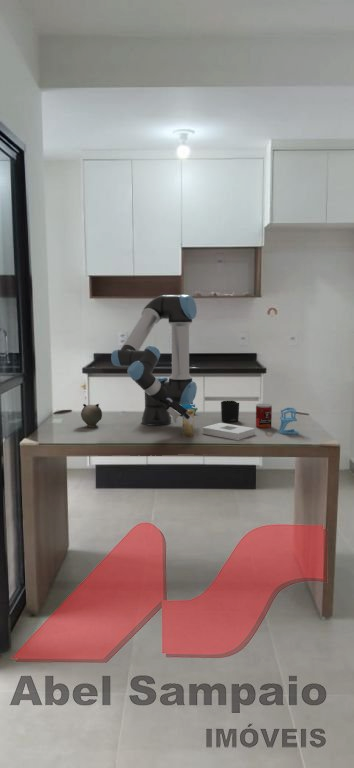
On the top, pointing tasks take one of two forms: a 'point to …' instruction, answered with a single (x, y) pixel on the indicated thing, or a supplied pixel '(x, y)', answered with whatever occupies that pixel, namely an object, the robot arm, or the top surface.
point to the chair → (287, 421)
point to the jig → (229, 431)
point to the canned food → (263, 415)
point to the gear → (189, 407)
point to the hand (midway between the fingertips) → (184, 419)
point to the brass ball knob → (187, 427)
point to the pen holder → (229, 411)
